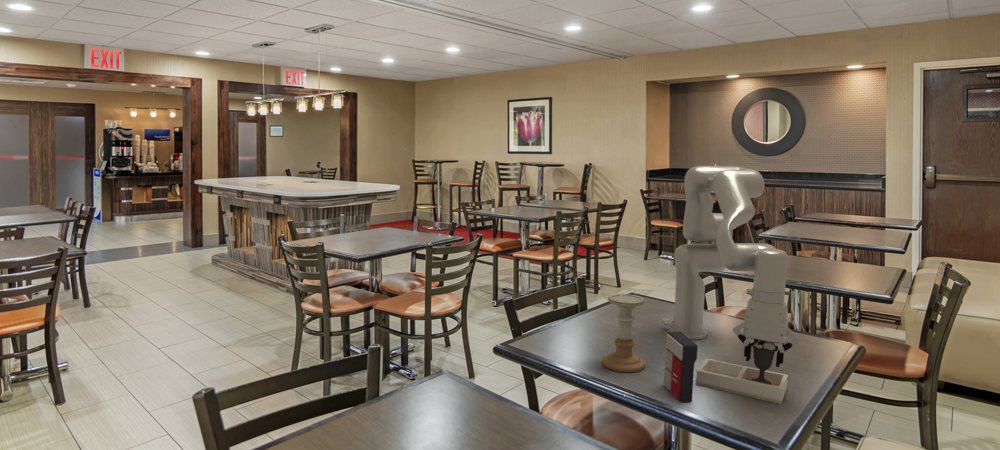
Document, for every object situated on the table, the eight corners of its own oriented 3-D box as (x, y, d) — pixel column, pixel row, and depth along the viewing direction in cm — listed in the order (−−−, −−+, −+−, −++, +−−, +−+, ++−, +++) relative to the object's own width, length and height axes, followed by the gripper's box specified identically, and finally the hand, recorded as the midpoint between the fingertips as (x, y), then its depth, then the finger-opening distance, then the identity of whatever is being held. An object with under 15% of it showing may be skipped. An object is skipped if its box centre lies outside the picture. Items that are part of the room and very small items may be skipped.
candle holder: (594, 360, 171) (596, 295, 168) (628, 355, 176) (631, 291, 173) (618, 375, 160) (621, 305, 157) (653, 369, 164) (657, 301, 162)
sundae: (778, 389, 146) (783, 332, 144) (750, 386, 147) (755, 330, 145) (771, 378, 153) (776, 325, 150) (745, 376, 154) (749, 323, 152)
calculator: (661, 385, 153) (664, 331, 151) (677, 384, 154) (680, 331, 152) (677, 402, 143) (681, 345, 141) (694, 402, 143) (697, 345, 141)
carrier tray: (695, 384, 154) (696, 370, 153) (705, 371, 163) (706, 358, 162) (781, 404, 143) (782, 389, 142) (786, 389, 152) (788, 374, 151)
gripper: (729, 294, 148) (725, 360, 151) (804, 305, 139) (798, 374, 141) (735, 288, 155) (731, 351, 157) (807, 298, 145) (801, 365, 148)
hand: (763, 362), depth 149 cm, fingers closed on sundae, 6 cm apart
